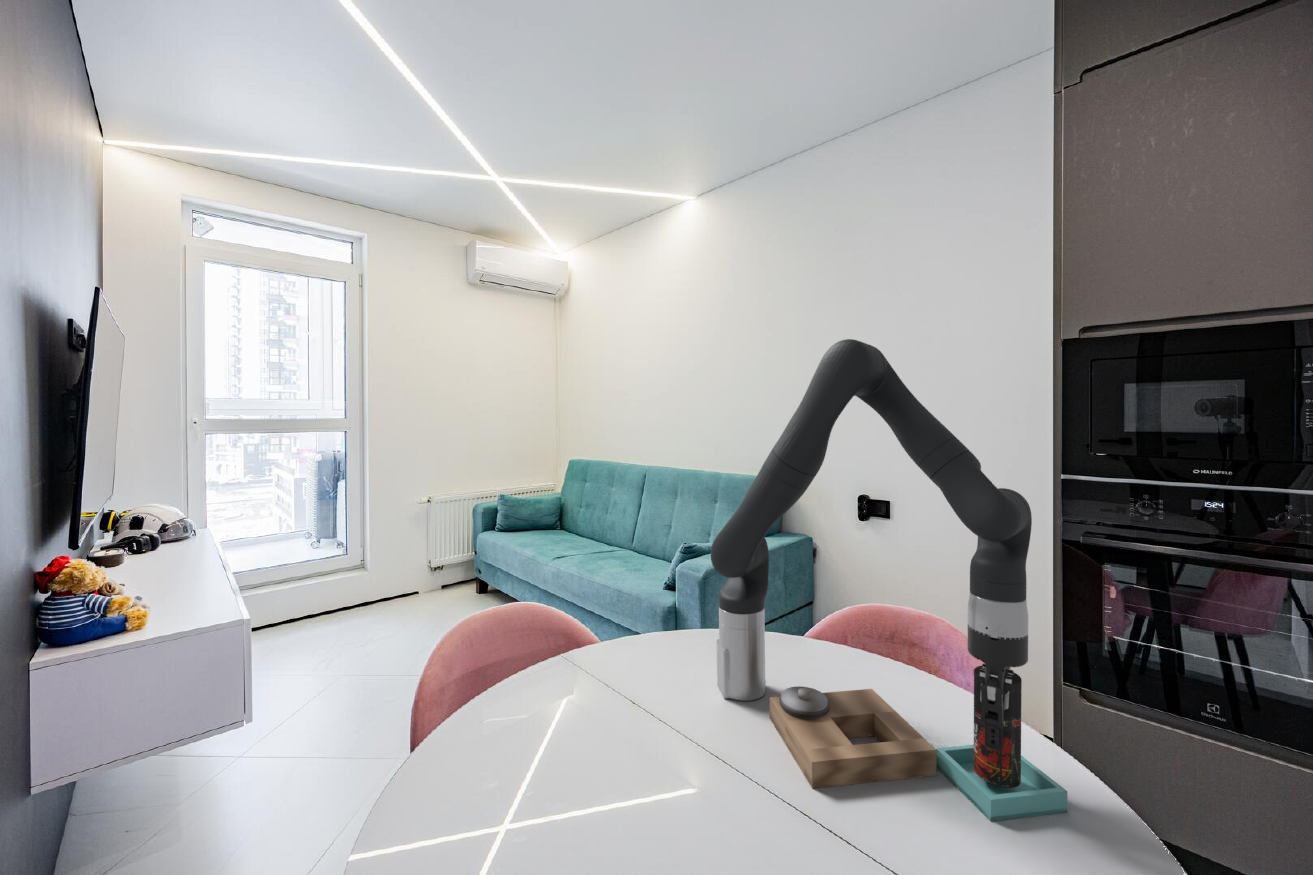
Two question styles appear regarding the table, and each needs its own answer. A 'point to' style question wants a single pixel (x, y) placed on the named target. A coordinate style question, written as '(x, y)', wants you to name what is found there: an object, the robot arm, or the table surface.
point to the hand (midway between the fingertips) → (996, 737)
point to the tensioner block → (831, 718)
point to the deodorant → (1006, 763)
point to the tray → (1000, 802)
